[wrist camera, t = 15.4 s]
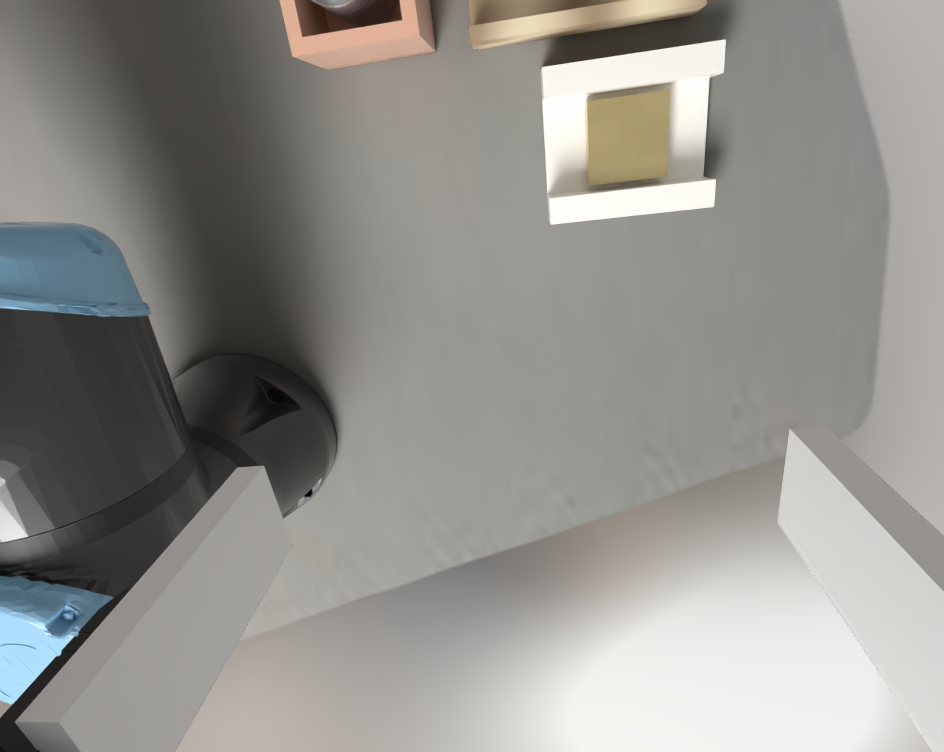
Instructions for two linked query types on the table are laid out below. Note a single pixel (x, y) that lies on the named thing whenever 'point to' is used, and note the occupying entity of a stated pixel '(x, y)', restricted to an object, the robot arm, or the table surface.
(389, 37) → the square hollow tube
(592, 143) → the tan flat square block
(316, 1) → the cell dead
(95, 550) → the robot arm
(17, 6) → the table surface
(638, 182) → the cradle
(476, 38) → the trough
